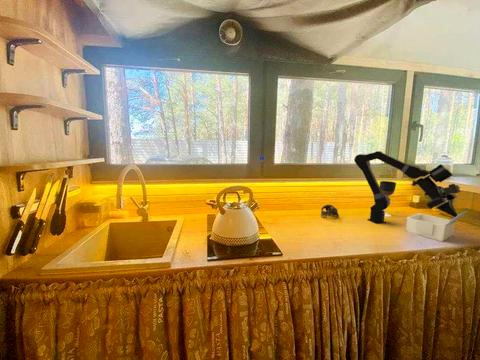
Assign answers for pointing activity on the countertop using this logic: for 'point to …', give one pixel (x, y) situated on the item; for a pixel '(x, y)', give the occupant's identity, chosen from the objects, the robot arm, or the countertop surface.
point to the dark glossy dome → (329, 210)
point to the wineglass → (387, 189)
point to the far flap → (456, 218)
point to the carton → (430, 226)
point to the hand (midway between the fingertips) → (456, 216)
